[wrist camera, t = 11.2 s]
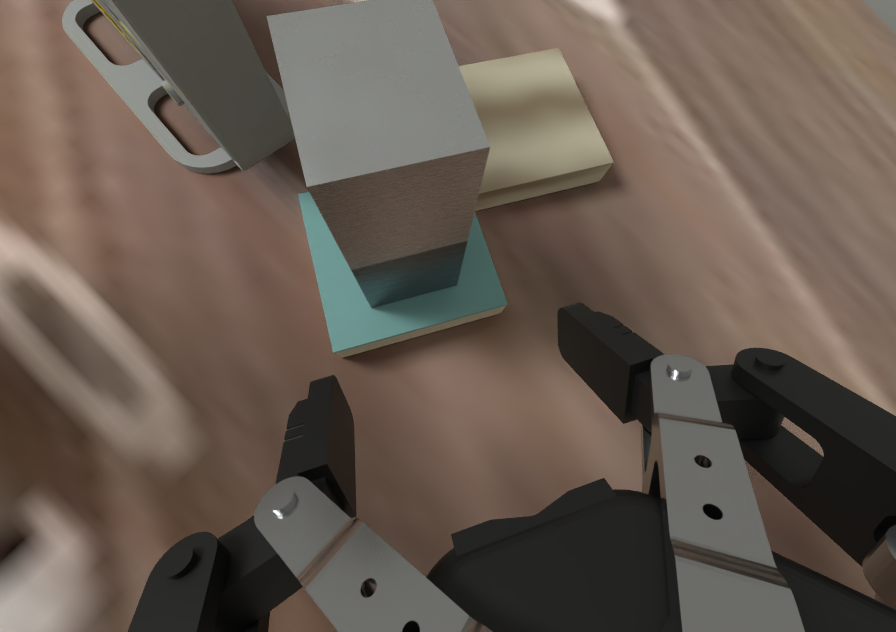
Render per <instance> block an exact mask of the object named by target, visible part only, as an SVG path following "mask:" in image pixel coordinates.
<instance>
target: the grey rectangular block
mask: <svg viewBox="0 0 896 632" xmlns="http://www.w3.org/2000/svg"><path fill="white" fill-rule="evenodd" d="M267 20H268V25H269V29H270V33H271V37H272V42H273V46H274V50H275V54H276V59H277V63H278V67H279V71H280V76H281V80H282V84H283V88H284V93H285V97H286V101H287V105H288V110H289V114H290V118H291V123H292V127H293V131H294V135H295V140H296V144H297V148H298V152H299V157H300V161H301V165H302V169H303V174H304V178H305V182H306V186H307V189H308V190H309V192H310V194H311V196H312V198H313V200H314V202H315V204H316V205H317V207H318V209H319V211H320V213H321V215H322V217H323V219H324V220H325V222H326V224H327V226H328V228H329V230H330V232H331V234H332V235H333V237H334V239H335V241H336V243H337V245H338V247H339V249H340V250H341V252H342V254H343V256H344V258H345V260H346V262H347V264H348V265H349V267H350V269H351V271H352V273H353V275H354V277H355V279H356V280H357V282H358V284H359V286H360V288H361V290H362V292H363V294H364V295H365V297H366V299H367V301H368V303H369V305H370V307H371V308H375V307H379V306H382V305H386V304H390V303H393V302H397V301H401V300H405V299H408V298H412V297H416V296H419V295H423V294H427V293H431V292H434V291H438V290H442V289H446V288H449V287H453V286H457V283H458V279H459V275H460V271H461V267H462V263H463V258H464V254H465V250H466V246H467V242H468V238H469V233H470V229H471V225H472V221H473V217H474V213H475V208H476V204H477V200H478V196H479V192H480V188H481V183H482V179H483V175H484V171H485V167H486V163H487V158H488V154H489V150H490V145H489V142H488V140H487V137H486V135H485V132H484V130H483V127H482V125H481V122H480V119H479V117H478V114H477V112H476V109H475V107H474V104H473V102H472V99H471V96H470V94H469V91H468V89H467V86H466V84H465V81H464V79H463V76H462V74H461V71H460V68H459V66H458V63H457V61H456V58H455V56H454V53H453V51H452V48H451V46H450V43H449V40H448V38H447V35H446V33H445V30H444V28H443V25H442V23H441V20H440V17H439V15H438V12H437V10H436V7H435V5H434V2H433V0H368V1H362V2H355V3H349V4H342V5H336V6H329V7H323V8H316V9H309V10H303V11H296V12H290V13H283V14H277V15H270V16H267Z"/></svg>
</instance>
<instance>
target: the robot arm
mask: <svg viewBox="0 0 896 632" xmlns="http://www.w3.org/2000/svg"><path fill="white" fill-rule="evenodd" d="M558 346H559V350H560V353H561V355H562V357H563V358H564V360H565V361H566V362H567V363H568V364H569V365H570V366H571V367H572V368H573V370H574V371H575V372H576V373H577V374H578V375H579V376H580V377H581V378H582V379H583V380H584V381H585V383H586V384H587V385H588V386H589V387H590V388H591V389H592V390H593V391H594V392H595V393H596V394H597V396H598V397H599V398H600V399H601V400H602V401H603V402H604V403H605V404H606V405H607V406H608V408H609V409H610V410H611V411H612V412H613V413H614V414H615V415H616V416H617V417H618V418H619V419H620V421H621V422H622V423H623V424H625V423H628V422H630V421H633V420H636V419H637V420H638V421H639V422H640V423H641V424H642V426H641V452H642V479H643V483H642V492H638V491H631V490H612V488H611V487H610V485H609V484H608V483H607V481H606V480H605V479H604V478H603V479H600V480H597V481H594V482H592V483H589V484H586V485H584V486H581V487H578V488H575V489H573V490H570V491H568V492H566V493H565V494H564V495H562V496H561V497H560V498H558V499H557V500H556V501H554V502H553V503H552V504H550V505H549V506H548V507H546V508H545V509H544V510H542V511H541V512H540V513H538V514H537V515H534V516H529V517H518V518H507V519H495V520H489V521H486V522H483V523H481V524H478V525H475V526H473V527H470V528H467V529H464V530H462V531H459V532H456V533H454V534H451V536H452V540H453V544H454V548H453V549H452V550H450V551H449V552H448V553H446V554H445V555H444V556H443V557H442V558H441V559H440V560H439V561H438V562H437V564H436V565H435V566H434V567H433V568H432V570H431V571H430V573H429V574H428V576H427V577H425V576H424V575H423V574H421V573H420V572H419V571H418V570H417V569H416V568H415V567H414V566H412V565H411V564H410V563H409V562H408V561H407V560H406V559H404V558H403V557H402V556H401V555H400V554H399V553H398V552H397V551H395V550H394V549H393V548H392V547H391V546H390V545H389V544H388V543H386V542H385V541H384V540H383V539H382V538H381V537H380V536H378V535H377V534H376V533H375V532H374V531H373V530H372V529H371V528H369V527H368V526H367V525H366V524H365V523H364V522H362V521H361V520H359V519H357V518H356V519H355V520H353V519H351V518H353V517H356V483H355V443H354V421H353V416H352V413H351V410H350V407H349V405H348V403H347V400H346V398H345V396H344V394H343V391H342V389H341V387H340V385H339V383H338V380H337V378H336V377H335V376H334V375H332V376H328V377H325V378H322V379H318V380H315V381H312V382H310V387H309V394H308V399H305V400H302V401H299V402H297V404H296V406H295V407H294V409H293V410H292V412H291V413H290V415H289V419H288V424H287V431H286V434H285V439H284V440H285V442H284V444H283V449H282V454H281V460H280V465H279V470H278V475H277V480H276V485H274V486H273V487H272V488H270V489H269V490H268V491H267V492H266V493H265V495H264V496H263V497H262V498H261V500H260V501H259V503H258V505H257V507H256V510H255V514H254V516H252V517H251V518H250V519H248V520H247V521H245V522H244V523H242V524H241V525H239V526H237V527H236V528H234V529H233V530H231V531H229V532H228V533H226V534H225V535H223V536H221V537H220V538H218V539H217V538H216V537H215V536H214V535H213V534H211V533H208V532H199V533H195V534H192V535H190V536H188V537H186V538H184V539H182V540H181V541H179V542H178V543H176V544H175V545H174V546H173V547H172V548H170V549H169V550H168V551H167V552H166V553H165V554H164V555H163V556H162V558H161V559H160V560H159V561H158V562H157V564H156V565H155V567H154V568H153V570H152V572H151V573H150V576H149V578H148V580H147V583H146V585H145V588H144V591H143V593H142V596H141V598H140V601H139V604H138V606H137V609H136V611H135V614H134V617H133V619H132V622H131V624H130V627H129V630H128V632H268V626H269V617H270V611H271V610H272V609H274V608H275V607H276V606H278V605H279V604H280V603H282V602H283V601H284V600H286V599H287V598H288V597H290V596H291V595H292V594H294V593H295V592H296V591H298V590H299V589H300V588H302V587H304V589H305V590H306V591H307V593H308V594H309V595H310V596H311V598H312V599H313V600H314V601H315V603H316V604H317V605H318V607H319V608H320V609H321V610H322V612H323V613H324V614H325V615H326V617H327V618H328V619H329V621H330V622H331V623H332V624H333V626H334V627H335V628H336V629H337V631H338V632H896V416H894V415H893V414H891V413H889V412H887V411H886V410H884V409H882V408H880V407H879V406H877V405H875V404H873V403H872V402H870V401H868V400H866V399H864V398H863V397H861V396H859V395H857V394H856V393H854V392H852V391H850V390H849V389H847V388H845V387H843V386H842V385H840V384H838V383H836V382H835V381H833V380H831V379H829V378H828V377H826V376H824V375H822V374H821V373H819V372H817V371H815V370H813V369H812V368H810V367H808V366H806V365H805V364H803V363H801V362H799V361H798V360H796V359H794V358H792V357H790V356H789V355H786V354H784V353H782V352H778V351H775V350H771V349H765V348H748V349H744V350H742V351H740V352H739V353H738V354H737V355H736V358H735V361H734V365H720V366H704V365H703V364H702V363H700V362H699V361H697V360H695V359H693V358H691V357H688V356H684V355H678V354H666V355H665V354H663V353H662V352H660V351H659V350H658V349H656V348H655V347H654V346H652V345H651V344H649V343H648V342H647V341H645V340H644V339H643V338H641V337H640V336H638V335H637V334H636V333H633V332H632V330H630V329H629V328H627V327H626V326H623V324H622V323H621V322H619V321H618V320H616V319H615V318H614V317H612V316H609V315H607V314H604V313H601V312H593V311H592V310H590V309H589V308H588V307H586V306H585V305H584V304H582V303H576V304H573V305H569V306H566V307H563V308H560V309H559V310H558ZM784 417H786V418H787V419H789V420H790V421H791V422H793V423H794V424H795V425H797V426H798V427H800V428H801V429H802V430H804V431H805V432H807V433H808V434H809V435H811V436H812V437H813V438H815V439H816V440H817V442H818V443H819V444H820V445H821V447H822V449H823V452H824V457H823V456H821V455H820V454H819V453H817V452H816V451H815V450H813V449H812V448H811V447H809V446H808V445H807V444H805V443H804V442H803V441H801V440H800V439H799V438H797V437H796V436H795V435H793V434H792V433H791V432H789V431H788V430H787V429H785V428H784V427H783V426H781V423H782V421H783V419H784ZM744 459H745V460H746V461H747V462H748V463H749V464H750V465H751V466H752V467H753V468H755V469H756V470H757V471H758V472H759V473H760V474H761V475H762V476H763V477H764V478H765V479H767V480H768V481H769V482H770V483H771V484H772V485H773V486H774V487H775V488H776V489H777V490H779V491H780V492H781V493H782V494H783V495H784V496H785V497H786V498H787V499H788V500H789V501H791V502H792V503H793V504H794V505H795V506H796V507H797V508H798V509H799V510H800V511H802V512H803V513H804V514H805V515H806V516H807V517H808V518H809V519H810V520H811V521H812V522H814V523H815V524H816V525H817V526H818V527H819V528H820V529H821V530H822V531H823V532H824V533H826V534H827V535H828V536H829V537H830V538H831V539H832V540H833V541H834V542H835V543H837V544H838V545H839V546H840V547H841V548H842V549H843V550H844V551H845V552H846V553H847V554H849V555H850V556H851V557H852V558H853V559H854V560H855V561H856V562H857V563H858V564H859V565H861V566H862V568H863V572H864V575H865V577H866V579H867V581H868V583H869V584H870V586H871V587H872V588H873V590H874V591H875V592H876V594H875V600H874V599H872V598H870V597H868V596H866V595H864V594H862V593H860V592H858V591H855V590H853V589H851V588H849V587H847V586H845V585H843V584H841V583H839V582H836V581H834V580H832V579H830V578H828V577H826V576H824V575H822V574H820V573H817V572H815V571H813V570H811V569H809V568H807V567H805V566H803V565H801V564H798V563H796V562H794V561H792V560H790V559H788V558H786V557H784V556H782V555H779V554H777V553H775V552H773V551H771V548H770V545H769V542H768V538H767V535H766V532H765V528H764V525H763V521H762V518H761V515H760V511H759V508H758V505H757V501H756V498H755V494H754V491H753V488H752V484H751V481H750V478H749V474H748V471H747V467H746V464H745V461H744Z"/></svg>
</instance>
